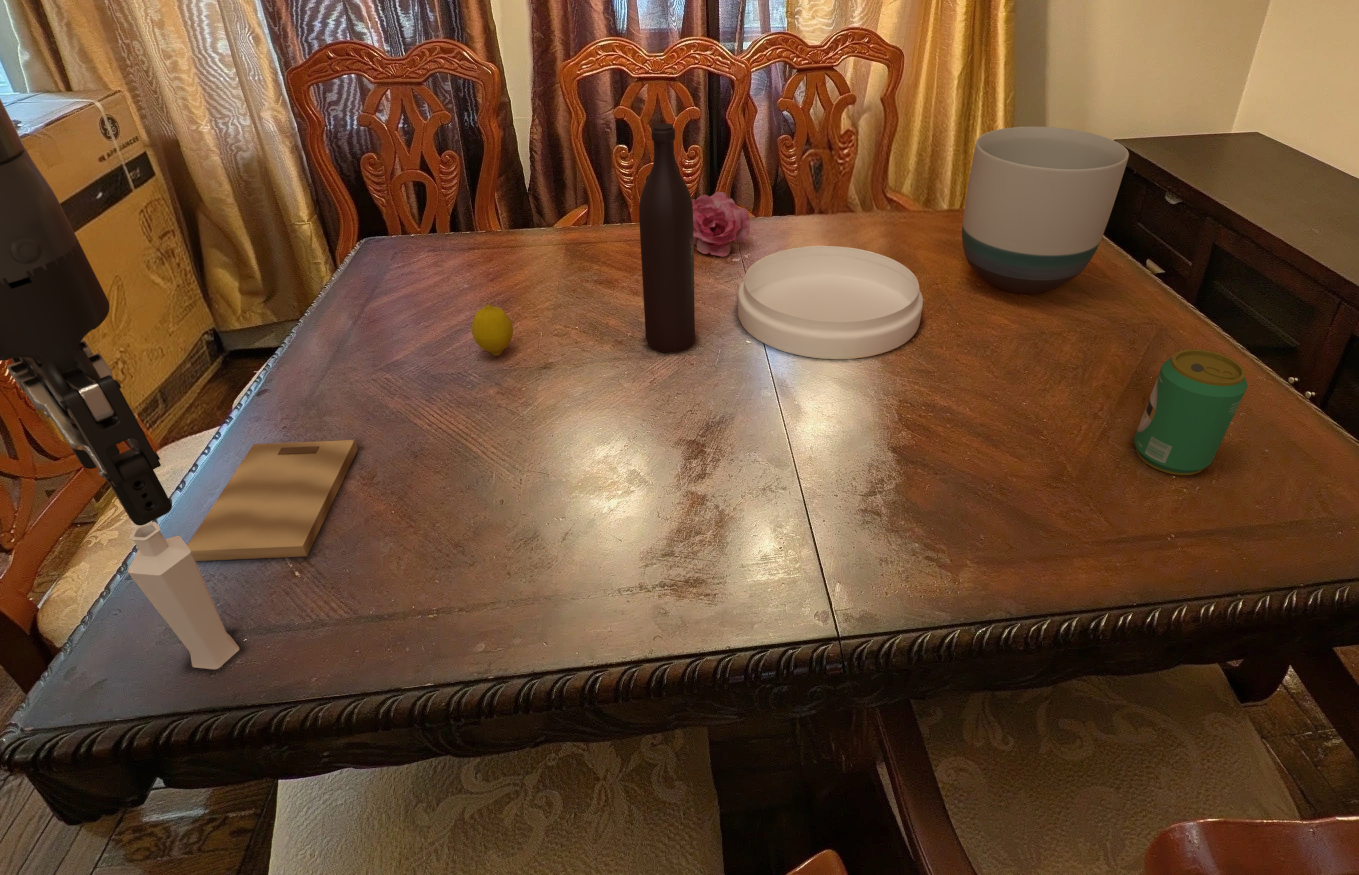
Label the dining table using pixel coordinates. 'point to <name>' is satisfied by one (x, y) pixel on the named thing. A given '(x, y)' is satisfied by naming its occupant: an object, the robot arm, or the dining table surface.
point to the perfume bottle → (180, 595)
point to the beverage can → (1189, 411)
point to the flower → (718, 223)
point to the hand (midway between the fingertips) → (127, 487)
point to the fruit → (492, 329)
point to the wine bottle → (667, 249)
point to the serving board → (274, 501)
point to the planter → (1038, 205)
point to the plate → (830, 302)
